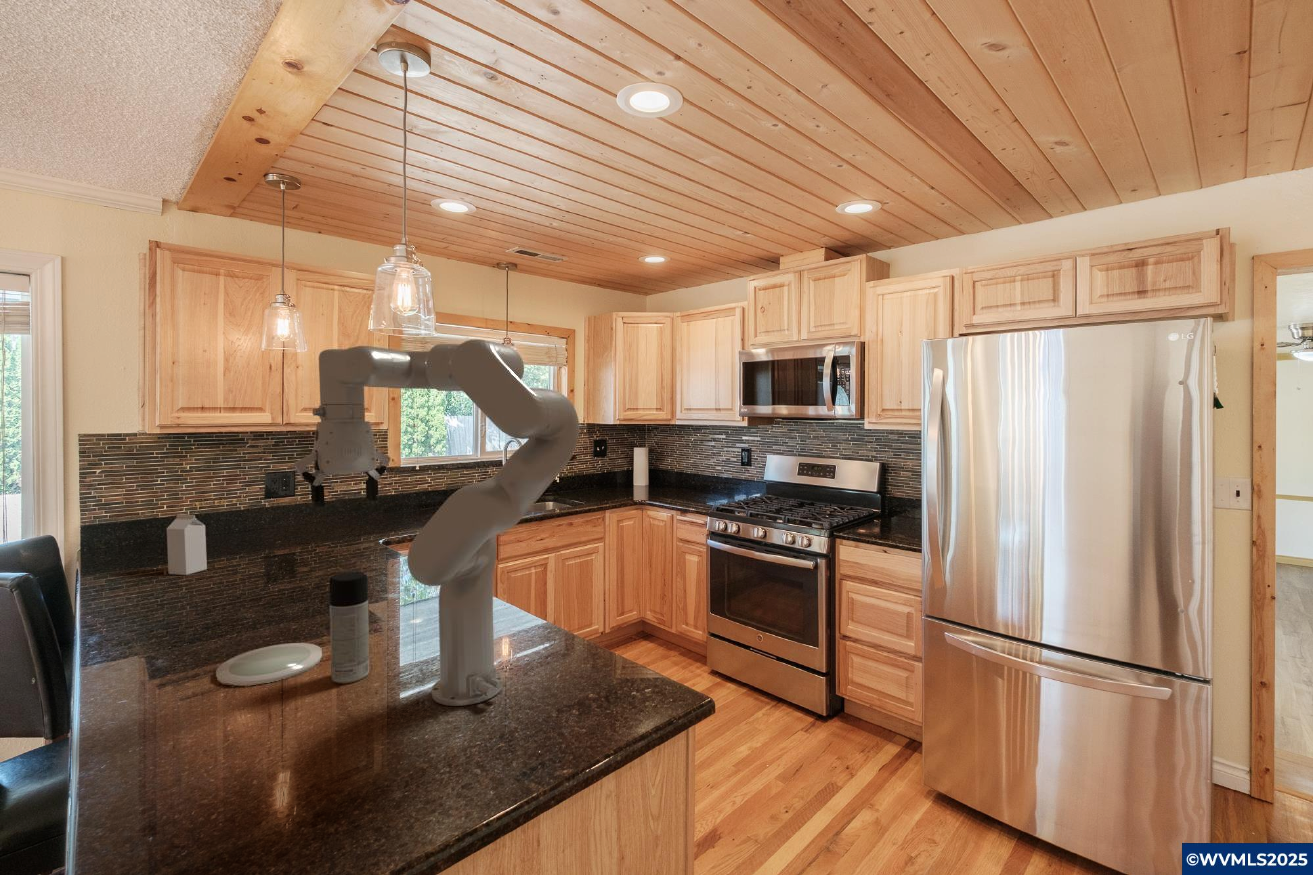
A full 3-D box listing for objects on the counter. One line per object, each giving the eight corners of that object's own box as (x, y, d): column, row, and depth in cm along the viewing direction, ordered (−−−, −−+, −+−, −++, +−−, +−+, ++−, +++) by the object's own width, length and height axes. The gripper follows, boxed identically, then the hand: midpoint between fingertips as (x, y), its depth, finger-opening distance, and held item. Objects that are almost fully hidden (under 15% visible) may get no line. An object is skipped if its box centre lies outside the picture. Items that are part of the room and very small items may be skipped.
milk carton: (186, 575, 189) (183, 516, 188) (168, 574, 190) (165, 516, 189) (207, 569, 196) (204, 513, 195) (189, 568, 197) (187, 512, 196)
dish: (336, 662, 121) (336, 656, 121) (232, 695, 107) (232, 688, 107) (302, 641, 132) (302, 636, 132) (204, 669, 118) (204, 662, 118)
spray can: (360, 666, 119) (357, 569, 118) (376, 675, 115) (373, 574, 114) (325, 677, 114) (322, 576, 113) (340, 688, 110) (337, 582, 109)
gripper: (300, 414, 104) (304, 510, 104) (396, 413, 117) (399, 499, 117) (285, 415, 108) (289, 507, 109) (379, 414, 122) (381, 496, 122)
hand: (346, 502), depth 113 cm, fingers open, 9 cm apart
